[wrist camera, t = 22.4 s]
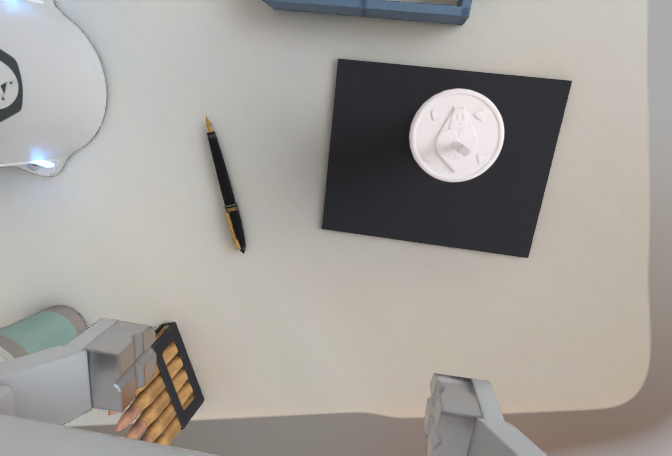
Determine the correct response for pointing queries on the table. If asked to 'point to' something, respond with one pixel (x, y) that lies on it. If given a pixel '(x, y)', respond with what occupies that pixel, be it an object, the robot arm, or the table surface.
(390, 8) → the blue compartment grid
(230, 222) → the fountain pen
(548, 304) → the table surface
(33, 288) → the table surface
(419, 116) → the smoothie
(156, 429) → the ammunition clip
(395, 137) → the mat
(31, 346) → the coffee cup
